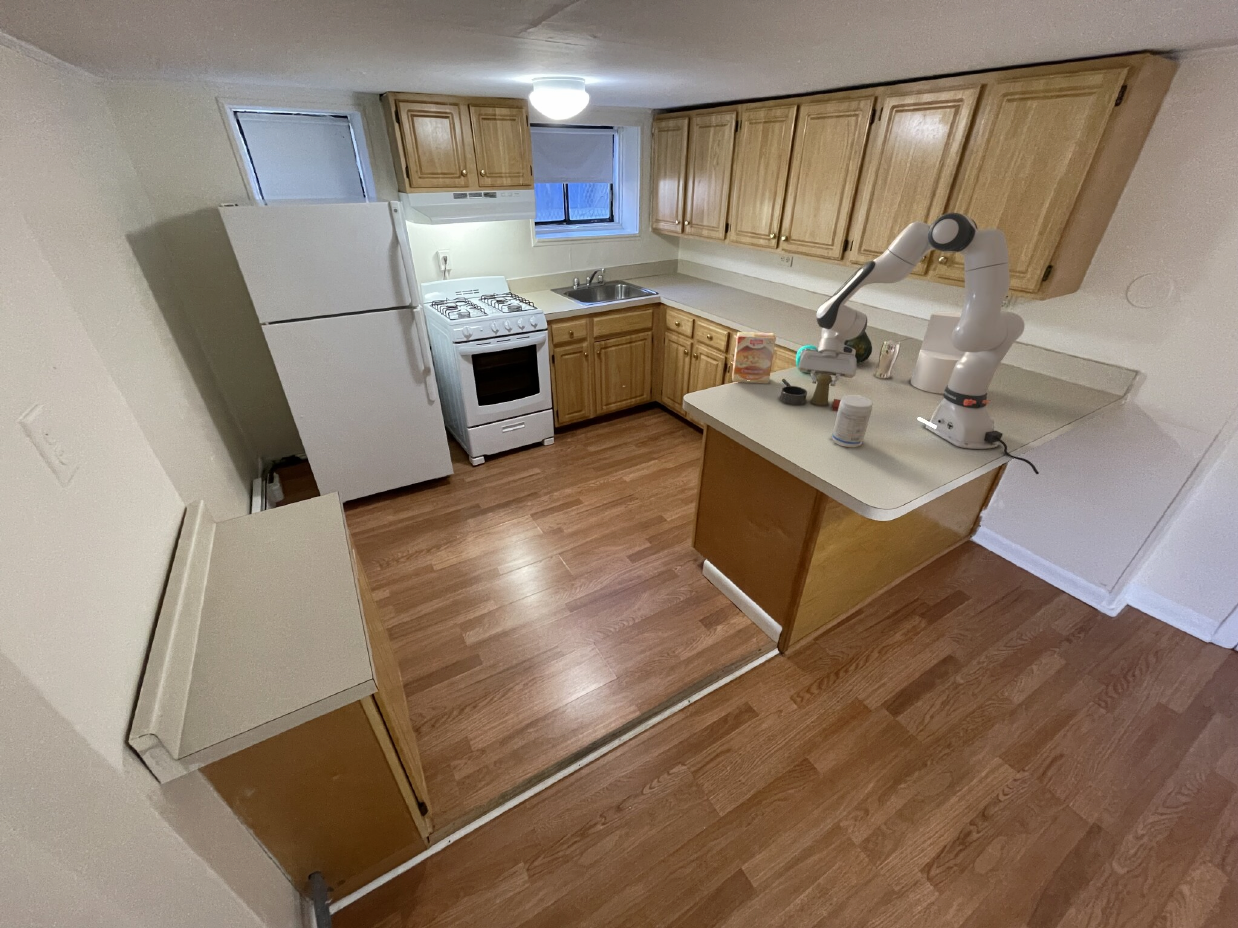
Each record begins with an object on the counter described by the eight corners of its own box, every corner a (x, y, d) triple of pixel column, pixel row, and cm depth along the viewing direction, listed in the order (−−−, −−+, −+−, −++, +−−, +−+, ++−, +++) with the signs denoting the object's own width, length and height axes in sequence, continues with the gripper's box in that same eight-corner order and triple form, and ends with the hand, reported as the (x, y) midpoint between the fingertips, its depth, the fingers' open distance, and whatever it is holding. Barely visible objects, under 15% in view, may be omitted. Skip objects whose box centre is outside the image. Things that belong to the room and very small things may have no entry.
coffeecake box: (732, 382, 213) (738, 336, 203) (731, 376, 219) (736, 331, 209) (769, 384, 211) (776, 337, 201) (767, 377, 217) (774, 332, 207)
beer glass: (893, 380, 215) (903, 345, 207) (875, 378, 216) (885, 344, 208) (889, 374, 221) (899, 340, 213) (872, 373, 222) (881, 339, 214)
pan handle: (791, 389, 199) (791, 385, 199) (787, 389, 199) (788, 385, 199) (784, 381, 206) (785, 378, 205) (781, 381, 206) (781, 378, 205)
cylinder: (912, 375, 220) (932, 309, 205) (958, 382, 212) (982, 315, 198) (908, 388, 207) (930, 319, 192) (957, 397, 199) (983, 325, 185)
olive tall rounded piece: (817, 406, 191) (823, 379, 185) (808, 399, 196) (813, 373, 190) (831, 404, 193) (837, 377, 187) (821, 397, 198) (827, 371, 192)
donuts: (794, 372, 223) (798, 350, 218) (794, 364, 231) (798, 343, 226) (818, 374, 220) (822, 352, 215) (817, 367, 228) (822, 345, 223)
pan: (808, 405, 193) (810, 395, 191) (784, 405, 192) (786, 395, 190) (800, 395, 201) (802, 385, 199) (776, 395, 200) (778, 386, 198)
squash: (831, 352, 229) (861, 329, 221) (830, 344, 241) (859, 322, 233) (852, 375, 230) (882, 353, 222) (850, 365, 243) (878, 344, 235)
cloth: (833, 402, 195) (834, 398, 194) (852, 405, 193) (853, 401, 192) (832, 410, 189) (833, 406, 188) (852, 413, 186) (853, 409, 186)
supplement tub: (838, 432, 173) (848, 392, 166) (866, 441, 168) (878, 399, 160) (826, 441, 167) (835, 400, 160) (855, 451, 162) (866, 409, 154)
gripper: (802, 343, 193) (795, 376, 190) (860, 350, 186) (853, 384, 184) (801, 351, 199) (794, 383, 196) (857, 358, 192) (851, 391, 189)
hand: (823, 384), depth 190 cm, fingers closed on olive tall rounded piece, 5 cm apart
